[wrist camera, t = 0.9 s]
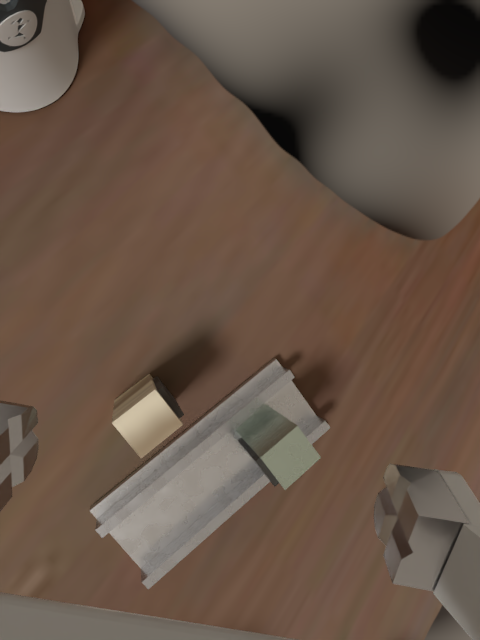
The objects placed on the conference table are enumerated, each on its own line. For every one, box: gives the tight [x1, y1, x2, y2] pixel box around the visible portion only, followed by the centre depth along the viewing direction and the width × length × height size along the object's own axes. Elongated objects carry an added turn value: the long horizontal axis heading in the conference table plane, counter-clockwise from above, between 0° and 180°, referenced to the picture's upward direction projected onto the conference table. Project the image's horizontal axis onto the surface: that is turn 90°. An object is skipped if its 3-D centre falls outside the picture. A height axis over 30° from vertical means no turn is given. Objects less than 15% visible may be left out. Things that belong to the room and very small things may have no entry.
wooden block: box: [112, 374, 184, 458], centre depth 45 cm, size 4×6×10 cm
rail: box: [90, 358, 330, 589], centre depth 47 cm, size 12×28×11 cm, turn 126°
